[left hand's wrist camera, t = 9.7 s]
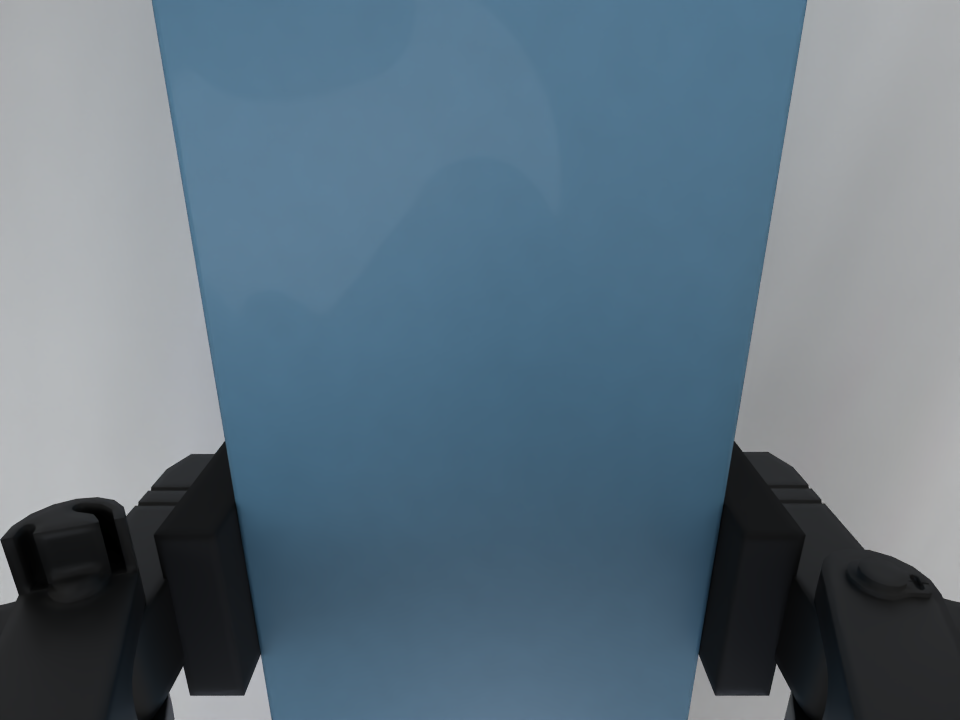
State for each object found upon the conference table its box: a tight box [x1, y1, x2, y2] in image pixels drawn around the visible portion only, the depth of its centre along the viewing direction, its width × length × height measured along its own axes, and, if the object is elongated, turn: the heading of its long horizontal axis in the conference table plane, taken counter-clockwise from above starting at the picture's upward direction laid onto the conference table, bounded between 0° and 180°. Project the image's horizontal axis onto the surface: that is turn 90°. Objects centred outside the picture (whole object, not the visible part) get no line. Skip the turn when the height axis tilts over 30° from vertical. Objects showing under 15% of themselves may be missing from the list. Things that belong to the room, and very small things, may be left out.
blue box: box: [152, 0, 807, 720], centre depth 12 cm, size 16×7×9 cm, turn 0°
